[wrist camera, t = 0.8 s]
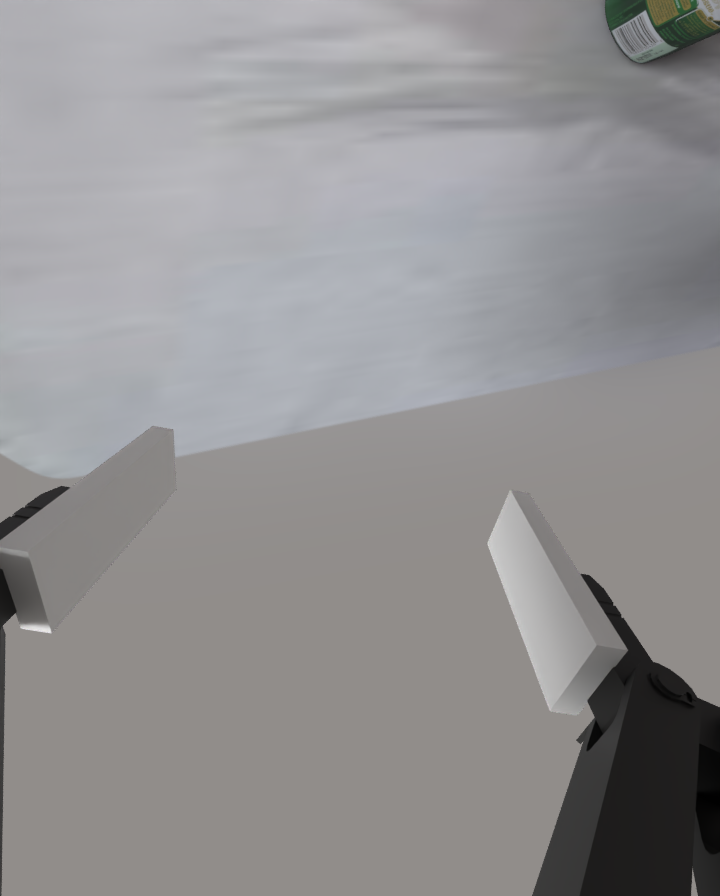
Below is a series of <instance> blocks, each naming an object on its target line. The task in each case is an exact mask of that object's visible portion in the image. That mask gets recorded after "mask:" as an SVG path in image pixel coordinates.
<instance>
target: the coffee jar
mask: <svg viewBox="0 0 720 896" xmlns="http://www.w3.org/2000/svg"><path fill="white" fill-rule="evenodd" d="M605 13H606V19H607V23H608V26H609V29H610V31H611V34H612V36H613V38H614V40H615V42H616V44H617V45H618V47H619V48H620V49H621V50H622V52H623V53H624V54H625V55H626V56H627V57H628V58H630V59H631V60H633V61H635V62H638V63H646V62H649V61H652V60H655V59H658V58H660V57H663V56H666V55H668V54H671V53H673V52H676V51H678V50H680V49H683V48H685V47H687V46H689V45H692V44H694V43H696V42H698V41H701V40H703V39H705V38H708V37H710V36H712V35H715V34H717V33H719V32H720V0H605Z"/></svg>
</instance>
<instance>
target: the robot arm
mask: <svg viewBox="0 0 720 896" xmlns="http://www.w3.org/2000/svg"><path fill="white" fill-rule="evenodd" d="M175 491H176V473H175V453H174V434H173V429H167V428H162V427H156V426H152V427H151V428H150V429H148V430H147V431H145V432H144V433H143V434H141V435H140V436H139V437H137V438H136V439H135V440H133V441H132V442H131V443H129V444H128V445H127V446H125V447H124V448H123V449H121V450H120V451H119V452H117V453H116V454H115V455H113V456H112V457H111V458H109V459H108V460H107V461H105V462H104V463H103V464H101V465H100V466H99V467H97V468H96V469H95V470H93V471H92V472H91V473H89V474H88V475H87V476H85V477H84V478H83V479H81V480H80V481H79V482H77V483H76V484H75V485H73V486H72V487H71V488H70V487H64V486H60V487H58V488H55V489H53V490H50V491H48V492H45V493H43V494H41V495H39V496H38V497H37V498H35V499H34V500H32V501H31V502H30V503H28V504H27V505H26V506H25V508H21V509H20V510H18V511H17V512H15V513H14V514H13V516H12V517H8V518H7V519H5V520H4V521H2V522H1V523H0V896H1V885H2V884H1V883H2V821H3V819H2V818H3V758H4V757H3V756H4V751H3V750H4V695H5V693H4V691H5V688H4V687H5V632H4V629H3V625H4V624H5V623H6V622H7V621H8V620H9V619H10V618H11V617H12V616H13V615H14V614H15V613H16V615H17V618H18V621H19V624H20V627H21V629H27V630H35V631H41V632H47V633H52V632H53V631H54V630H55V629H56V628H57V627H58V625H59V624H60V623H61V622H62V621H63V620H64V619H65V617H66V616H67V615H68V614H69V613H70V612H71V611H72V609H73V608H74V607H75V606H76V605H77V604H78V603H79V601H80V600H81V599H82V598H83V597H84V596H85V594H86V593H87V592H88V591H89V590H90V589H91V588H92V586H93V585H94V584H95V583H96V582H97V581H98V580H99V578H100V577H101V576H102V575H103V574H104V572H106V570H107V569H108V568H109V567H110V565H112V563H113V562H114V561H115V560H116V559H117V558H118V557H119V555H120V554H121V553H122V552H123V551H124V549H125V548H126V547H127V546H128V545H129V544H130V543H131V542H132V540H133V539H134V538H135V537H136V536H137V535H138V534H139V532H140V531H141V530H142V529H143V528H144V527H145V526H146V524H147V523H148V522H149V521H150V520H151V519H152V517H153V516H154V515H155V514H156V513H157V512H158V511H159V509H160V508H161V507H162V506H163V505H164V504H165V503H166V501H167V500H168V499H169V498H170V497H171V495H172V494H173V493H174V492H175ZM488 547H489V549H490V552H491V555H492V558H493V560H494V563H495V565H496V568H497V571H498V573H499V576H500V579H501V582H502V584H503V587H504V590H505V592H506V595H507V597H508V600H509V603H510V606H511V608H512V611H513V614H514V617H515V619H516V622H517V625H518V627H519V630H520V633H521V635H522V638H523V641H524V643H525V646H526V649H527V651H528V654H529V657H530V659H531V662H532V665H533V668H534V670H535V673H536V675H537V678H538V681H539V683H540V686H541V689H542V692H543V694H544V697H545V699H546V702H547V705H548V708H549V710H550V711H552V712H558V713H565V714H571V715H578V714H579V713H580V711H581V710H582V709H583V708H584V706H585V705H586V703H587V702H588V703H589V705H590V708H591V710H592V712H593V714H594V716H595V718H594V719H593V720H592V722H591V723H590V724H589V725H588V726H587V728H586V729H585V730H584V731H583V733H582V734H581V735H580V736H579V738H578V739H577V741H578V742H579V743H580V744H581V743H582V742H583V744H582V747H581V750H580V753H579V756H578V760H577V762H576V765H575V768H574V772H573V774H572V778H571V780H570V783H569V787H568V789H567V792H566V796H565V798H564V801H563V805H562V807H561V811H560V814H559V817H558V820H557V823H556V826H555V829H554V832H553V835H552V838H551V841H550V844H549V847H548V850H547V853H546V856H545V859H544V862H543V865H542V868H541V871H540V874H539V877H538V880H537V883H536V886H535V889H534V892H533V895H532V896H691V884H692V866H693V872H694V877H695V882H696V887H697V893H698V896H720V707H718V706H715V705H713V704H710V703H708V702H706V701H704V700H701V699H699V698H697V696H696V695H695V693H694V692H693V690H692V689H691V688H690V687H689V685H688V684H687V683H685V681H684V680H683V679H682V678H680V677H679V676H678V675H677V674H675V673H674V672H673V671H671V670H670V669H668V668H666V667H664V666H662V665H660V664H658V663H655V662H653V661H652V660H651V658H650V657H649V656H648V654H647V652H646V651H645V649H644V648H643V646H642V645H641V643H640V642H639V640H638V639H637V637H636V636H635V635H634V633H633V631H632V630H631V629H630V627H629V626H628V624H627V623H626V621H625V620H624V618H621V614H620V612H619V611H618V609H617V608H616V606H613V602H612V600H611V599H610V597H609V596H608V594H607V593H606V591H605V590H604V588H602V587H601V586H600V585H599V584H598V583H597V582H596V581H595V580H594V579H593V578H592V577H591V576H589V575H585V574H580V573H579V571H578V570H577V568H576V567H575V565H574V564H573V562H572V560H571V559H570V557H569V555H568V554H567V552H566V551H565V549H564V548H563V546H562V544H561V543H560V541H559V540H558V538H557V536H556V535H555V533H554V532H553V530H552V528H551V527H550V525H549V524H548V522H547V521H546V519H545V517H544V516H543V514H542V513H541V511H540V510H539V508H538V506H537V505H536V503H535V501H534V500H533V498H532V497H531V495H530V494H529V493H525V492H520V491H514V490H510V492H509V494H508V496H507V499H506V501H505V503H504V506H503V508H502V510H501V513H500V515H499V517H498V520H497V522H496V524H495V527H494V529H493V532H492V534H491V536H490V538H489V541H488Z"/></svg>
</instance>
